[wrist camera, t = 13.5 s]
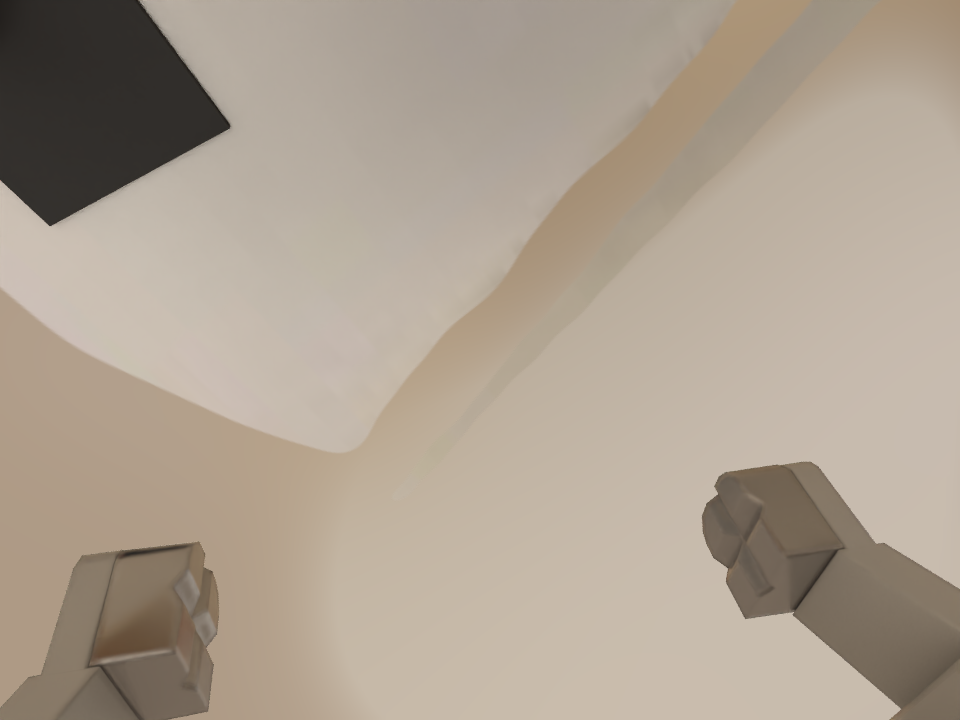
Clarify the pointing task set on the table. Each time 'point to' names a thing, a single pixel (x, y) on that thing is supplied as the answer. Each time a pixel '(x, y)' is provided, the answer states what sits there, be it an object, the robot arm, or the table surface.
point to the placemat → (91, 101)
